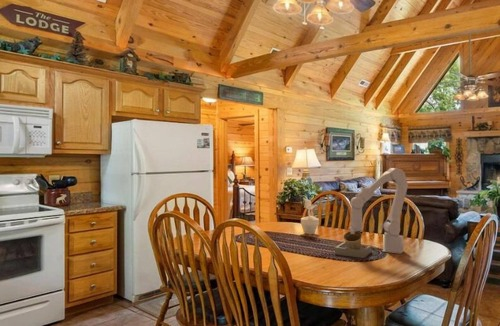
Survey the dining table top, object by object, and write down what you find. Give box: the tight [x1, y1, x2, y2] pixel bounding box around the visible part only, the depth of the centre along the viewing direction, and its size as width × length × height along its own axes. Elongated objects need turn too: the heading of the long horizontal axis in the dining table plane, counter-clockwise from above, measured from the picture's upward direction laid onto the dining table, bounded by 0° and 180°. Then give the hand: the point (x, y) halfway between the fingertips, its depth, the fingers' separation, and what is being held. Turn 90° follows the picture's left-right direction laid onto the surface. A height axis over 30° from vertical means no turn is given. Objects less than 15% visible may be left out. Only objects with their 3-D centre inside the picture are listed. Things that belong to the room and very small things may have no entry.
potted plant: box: [300, 197, 320, 235], centre depth 246 cm, size 13×12×25 cm
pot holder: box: [334, 241, 372, 259], centre depth 196 cm, size 15×14×4 cm
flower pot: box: [343, 230, 363, 250], centre depth 197 cm, size 9×9×9 cm
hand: (356, 245), depth 201 cm, fingers closed, pressing on flower pot
